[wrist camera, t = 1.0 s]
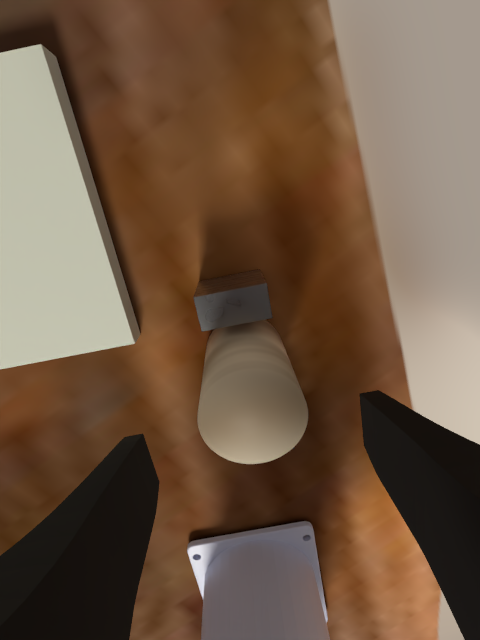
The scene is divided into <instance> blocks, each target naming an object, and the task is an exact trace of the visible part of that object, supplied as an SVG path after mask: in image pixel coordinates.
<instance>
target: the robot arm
mask: <svg viewBox="0 0 480 640" xmlns="http://www.w3.org/2000/svg"><path fill="white" fill-rule="evenodd" d="M360 404H361V416H362V427H363V439H364V446H365V449H366V451H367V453H368V456H369V458H370V460H371V462H372V465H373V467H374V469H375V471H376V473H377V475H378V477H379V479H380V480H381V482H382V484H383V485H384V487H385V489H386V491H387V492H388V494H389V496H390V497H391V499H392V501H393V502H394V504H395V506H396V507H397V509H398V511H399V512H400V514H401V516H402V517H403V519H404V521H405V522H406V524H407V526H408V527H409V529H410V531H411V532H412V534H413V536H414V537H415V539H416V541H417V542H418V544H419V546H420V548H421V550H422V552H423V553H424V555H425V557H426V559H427V561H428V563H429V565H430V567H431V569H432V571H433V574H434V576H435V578H436V580H437V582H438V584H439V586H440V588H441V590H442V592H443V594H444V596H445V598H446V601H447V603H448V605H449V607H450V609H451V611H452V613H453V616H454V618H455V620H456V622H457V624H458V626H459V628H460V631H461V633H462V634H463V637H464V639H465V640H480V445H479V444H477V443H475V442H473V441H470V440H468V439H466V438H464V437H462V436H460V435H458V434H456V433H454V432H452V431H450V430H448V429H446V428H444V427H442V426H440V425H438V424H436V423H434V422H433V421H431V420H429V419H427V418H425V417H423V416H422V415H420V414H418V413H416V412H415V411H413V410H411V409H410V408H408V407H406V406H404V405H403V404H401V403H399V402H398V401H396V400H394V399H393V398H391V397H389V396H388V395H386V394H384V393H382V392H381V391H379V390H377V391H372V392H366V393H361V394H360ZM158 490H159V480H158V477H157V474H156V471H155V468H154V465H153V462H152V459H151V456H150V453H149V450H148V447H147V444H146V441H145V438H144V435H143V434H139V435H133V436H128V437H125V438H124V439H122V440H121V441H120V442H119V443H118V444H117V446H116V447H115V448H114V449H113V450H112V451H111V452H110V453H109V454H108V455H107V456H106V457H105V458H104V460H103V461H102V462H101V463H100V464H99V465H98V466H97V467H96V468H95V469H94V470H93V471H92V472H91V474H90V475H89V476H88V477H87V478H86V479H85V480H84V481H83V482H82V483H81V484H80V485H79V486H78V487H77V488H76V489H75V490H74V491H73V492H72V493H71V494H70V495H69V496H68V497H67V498H66V499H65V500H64V501H63V502H62V503H61V504H60V505H59V506H58V507H57V508H56V509H55V510H54V511H53V512H52V513H51V514H50V515H49V516H47V517H46V518H45V519H44V520H43V521H42V522H41V523H40V524H39V525H37V526H36V527H35V528H34V529H33V530H32V531H30V532H29V533H28V534H27V535H26V536H25V537H23V538H22V539H21V540H20V541H19V542H17V543H16V544H15V545H14V546H12V547H11V548H10V549H9V550H7V551H6V552H5V553H3V554H2V555H1V556H0V640H129V636H130V630H131V623H132V617H133V610H134V604H135V599H136V595H137V590H138V585H139V581H140V577H141V573H142V569H143V565H144V561H145V557H146V553H147V549H148V544H149V540H150V536H151V532H152V528H153V523H154V519H155V515H156V508H157V500H158ZM187 553H188V556H189V559H190V562H191V565H192V568H193V571H194V574H195V577H196V580H197V583H198V586H199V589H200V592H201V595H202V598H203V615H202V633H201V640H330V637H329V632H328V628H327V624H326V623H327V621H328V617H327V611H326V605H325V599H324V592H323V586H322V580H321V574H320V568H319V561H318V555H317V549H316V543H315V537H314V530H313V526H312V524H311V523H310V522H307V521H302V522H296V523H290V524H285V525H279V526H273V527H268V528H262V529H256V530H251V531H245V532H239V533H234V534H228V535H222V536H217V537H211V538H205V539H200V540H194V541H191V542H190V543H189V544H188V547H187Z"/></svg>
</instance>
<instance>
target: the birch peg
mask: <svg viewBox="0 0 480 640" xmlns="http://www.w3.org/2000/svg"><path fill="white" fill-rule="evenodd" d="M197 419H198V427H199V431H200V434H201V436H202V438H203V440H204V441H205V443H206V444H207V445H208V446H209V447H210V448H211V450H213V451H214V452H215V453H216V454H218V455H219V456H221V457H223V458H225V459H227V460H230V461H233V462H237V463H242V464H259V463H265V462H269V461H272V460H275V459H277V458H279V457H281V456H283V455H284V454H286V453H287V452H289V451H290V450H291V449H292V448H293V447H294V446H295V445H296V444H297V443H298V442H299V441H300V439H301V438H302V436H303V434H304V432H305V429H306V427H307V422H308V407H307V403H306V400H305V398H304V395H303V393H302V390H301V388H300V385H299V383H298V380H297V378H296V375H295V373H294V370H293V368H292V365H291V363H290V360H289V357H288V355H287V352H286V350H285V347H284V345H283V342H282V340H281V337H280V335H279V333H278V331H277V330H276V329H275V327H274V326H273V325H272V324H270V323H269V322H268V321H266V320H259V321H254V322H249V323H244V324H239V325H233V326H228V327H223V328H218V329H214V330H213V331H212V333H211V335H210V337H209V339H208V342H207V347H206V355H205V363H204V370H203V378H202V385H201V393H200V400H199V408H198V416H197Z"/></svg>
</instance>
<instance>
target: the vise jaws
mask: <svg viewBox="0 0 480 640" xmlns="http://www.w3.org/2000/svg"><path fill="white" fill-rule="evenodd" d="M194 301H195V306H196V310H197V314H198V318H199V322H200V326H201V330H202V331H207V330H212V329H218V328H223V327H228V326H233V325H239V324H244V323H249V322H254V321H259V320H265V319H270V318H272V312H271V306H270V300H269V294H268V288H267V283H266V281H265V279H264V277H263V275H262V273H261V271H260V269H259V270H254V271H249V272H244V273H238V274H233V275H228V276H223V277H218V278H213V279H208V280H203V281H199V283H198V286H197V289H196V292H195V295H194ZM292 449H294V447H293V448H292Z"/></svg>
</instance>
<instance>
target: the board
mask: <svg viewBox="0 0 480 640" xmlns="http://www.w3.org/2000/svg"><path fill="white" fill-rule="evenodd" d="M139 336H140V331H139V328H138V324H137V321H136V318H135V314H134V311H133V308H132V305H131V301H130V298H129V295H128V291H127V288H126V285H125V282H124V278H123V275H122V272H121V268H120V265H119V262H118V259H117V255H116V252H115V249H114V245H113V242H112V239H111V236H110V232H109V229H108V226H107V222H106V219H105V216H104V213H103V209H102V206H101V203H100V199H99V196H98V193H97V189H96V186H95V183H94V180H93V176H92V173H91V170H90V166H89V163H88V160H87V157H86V153H85V150H84V147H83V143H82V140H81V137H80V134H79V130H78V127H77V124H76V120H75V117H74V114H73V111H72V107H71V104H70V101H69V97H68V94H67V91H66V88H65V84H64V81H63V78H62V74H61V71H60V68H59V65H58V61H57V58H56V56H55V55H53V54H52V53H51V52H50V51H49V50H47V49H46V48H45V47H44V46H43V45H42V44H39V45H34V46H30V47H25V48H20V49H16V50H11V51H6V52H2V53H0V369H4V368H10V367H15V366H20V365H25V364H30V363H36V362H41V361H46V360H51V359H57V358H62V357H67V356H72V355H77V354H83V353H88V352H93V351H98V350H104V349H109V348H114V347H119V346H124V345H130V344H135V342H136V341H137V339H138V338H139Z"/></svg>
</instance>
